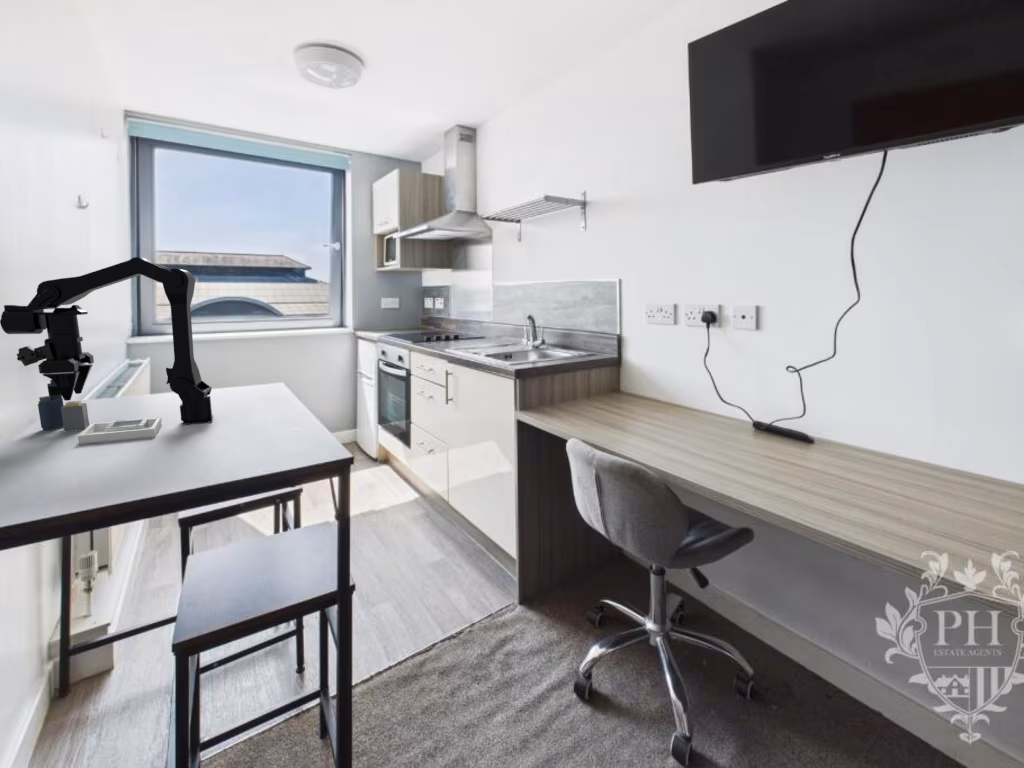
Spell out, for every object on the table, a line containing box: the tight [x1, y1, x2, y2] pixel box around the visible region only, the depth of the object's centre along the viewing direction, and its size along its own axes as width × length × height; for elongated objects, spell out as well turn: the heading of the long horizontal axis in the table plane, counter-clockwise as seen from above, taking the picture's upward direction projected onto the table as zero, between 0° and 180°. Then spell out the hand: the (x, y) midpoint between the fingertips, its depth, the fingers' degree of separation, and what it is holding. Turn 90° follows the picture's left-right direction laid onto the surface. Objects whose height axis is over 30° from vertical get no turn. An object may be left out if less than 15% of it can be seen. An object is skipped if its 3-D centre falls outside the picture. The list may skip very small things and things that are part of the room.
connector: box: [61, 400, 90, 432], centre depth 122 cm, size 4×4×7 cm
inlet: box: [105, 418, 149, 433], centre depth 119 cm, size 7×7×2 cm
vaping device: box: [37, 379, 65, 431], centre depth 122 cm, size 3×5×12 cm, turn 174°
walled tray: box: [77, 417, 163, 445], centre depth 119 cm, size 14×12×2 cm
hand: (73, 396), depth 122 cm, fingers open, 9 cm apart
